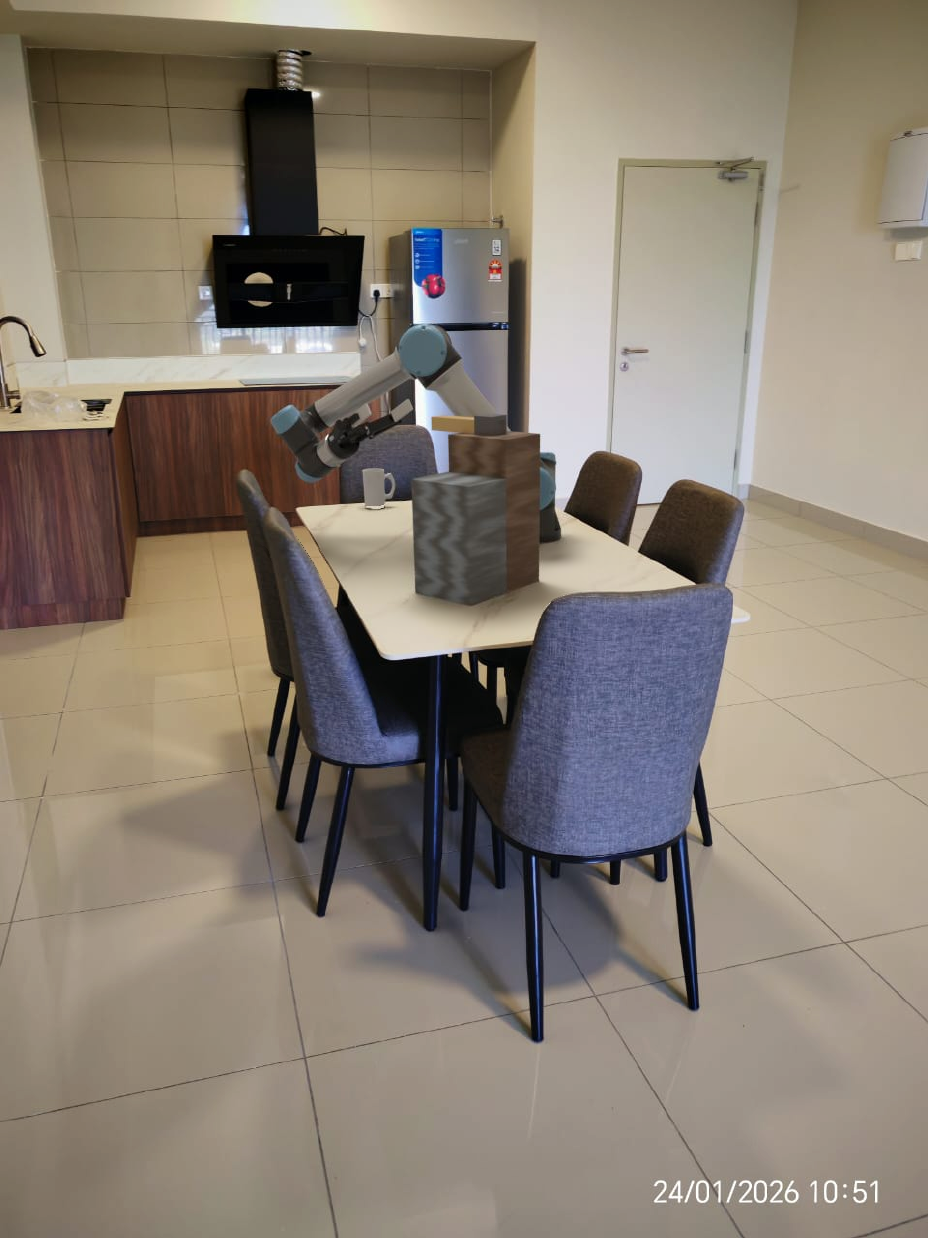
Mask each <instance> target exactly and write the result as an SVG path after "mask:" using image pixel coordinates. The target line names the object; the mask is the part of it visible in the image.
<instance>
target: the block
mask: <svg viewBox="0 0 928 1238" xmlns="http://www.w3.org/2000/svg"><path fill="white" fill-rule="evenodd" d="M507 416H508V415H507V414H502V413H501V414H499V413H497V414H482V415H475V416H474V417H461V416H454V415H446V414H443V415H442V414H441V415H436V416H435V415H434V416H431V431H437V432H447V433H468V434H475V435H487V436H495V435H501V434H507V427H508V425H507V424H508V423H507V421H508V420H507V418H508V417H507Z"/></svg>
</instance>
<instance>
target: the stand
mask: <svg viewBox="0 0 928 1238" xmlns="http://www.w3.org/2000/svg"><path fill="white" fill-rule="evenodd" d="M447 439H448V440H447V441H448V442H447V443H448V445H447V446H448V471H444V472H440V473H435V474H430V475H424V476H420V477H415V478H411V485H410V486H411V506H412V507H411V508H412V534H413V535H412V537H413V539H412V540H413V541H412V542H413V560H414V561H413V564H414V565H413V566H414V568H413V569H414V592H415V594H416V593H417V594H418V595H423V596H424V595H425V596H428V597H432V598H435V599H439V600H441V599H442V600H445V601H448V600H449V602H453V603H457V604H461V605H465V604H466V606H470V607H471V606H472V607H473V606H475V605H477V604H480V603H482V602H486V601H488V600H490V598H491V599H493V597H494V598H496V597H498V595H499V596H501V595H500V594H502V595H504V594H507V593H509V592H508V591H510V592H512V591H511V590H513V591H515V590H517V589H520V588H523V587H526V586H528V585H531V584H534V583H537V582H539V581H540V543H539V526H540V452H541V433H534V432H524V431H523V432H522V431H507V434H501V435H495V436H487V435H475V434H468V433H457V432H455V433H449V434H448V435H447ZM506 592H507V593H506ZM503 593H504V594H503ZM495 596H496V597H495ZM474 604H475V605H474Z"/></svg>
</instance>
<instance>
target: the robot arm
mask: <svg viewBox="0 0 928 1238" xmlns="http://www.w3.org/2000/svg"><path fill="white" fill-rule="evenodd" d="M458 352H459V351H457V350H456V349H455V347H454V346H453V342H452V338H451V337H450V334H449V333H448V332H447V331H446V330H445V329H444V328H443V327H442V326H439V325H437V324H433V323H417V324H415V325H412V326H411V327H410V328H408V329H407V331H406V332H404V334H403V335H402V337H401V339H400V341H399V344H398V345H397V346H395V349H394V352H393V353H391V354H390V355H388V356H387V357H385V358H383V359H382V360H380V361H379V362H377V363H376V364H374V365H372V366H371V367H369V368H367V369H366V370H364V371H363V372H362V373H360V374H358V375H356V376H355V377H353V378H352V379H350V380H348V381H347V382H345V383H344V384H342V385H340V386H339V387H337V388H336V389H334V390H332V391H331V392H329V393H327V394H326V395H324V396H323V397H321V398H319V399H317V400H316V401H315V402H313V403H312V404H310V405H308V406H306V407H305V408H303V409H302V410H300V411H299V410H298V409H297V408H296V406H294V404H289V405H287V406H285V407H283V408H282V409H281V410H279V411H278V412H277V413H275V414H274V415H273V416H272V417H271V419H270V424H271V426H272V428H273V429H274V431H275V433H276V434H277V435H279V438H281V439H282V441H283V442H284V444H285V445H286V447H287V448H288V449H289V450H290V451H291V453H292V454H293V456H294V458H295V459H296V461H295V464H294V468H295V470H296V475H297V476H298V477H299V478H300V480H302V481H304V482H306V483H310V484H311V483H312V484H313V483H317V482H318V481H320V480H322V479H323V478H325V477H326V476H327V475H328V474H330V473H331V472H332V471H334V470H335V469H336V468H340V467H341V464H342V463H344V462H346V461H347V460H348V459H350V458H351V457H352V456H353V455H355V454H357V452H358V451H359V449H360V445H361V442H365V440H366V439H369V440H374V439H375V438H376V437H377V436H379V435H380V434H383V433H385V432H387V431H388V430H389V431H390V429H392V428H395V427H396V426H398V425H401V424H402V423H403V420H402V419H403V418H404V417H405V416H407V415H408V414H409V413H411V411H414V408H413V405H412V403H411V400H410V398H407V399H405V400H404V401H402V402H401V403H400V404H399V405H397V406H396V407H395V408H393V409H391V411H390V413H389V414H385V415H384V416H382V417H380V418H378V419H374V420H373V421H371V422H369V421H366V419H368V418H369V417H371V416H372V415H373V413H372V410H371V408H370V406H369V404H371V403H372V402H373V401H375V400H377V399H378V398H380V397H382V396H383V395H385V394H387V393H388V392H391V390H393V389H396V387H398V386H400V385H402V384H403V383H405V382H406V381H408V380H413V381H416V380H418V382H419V383H420V384H421V385H422V386H423V388H424V389H425V390H426V391H430V392H434V393H436V394H437V395H438V397H439V398H440V400H441V401H442V402H443V403H444V404H445V405H446V406H447V408H448V409H449V411H450V412H451V413H452V415H453V416H461V417H474V416H475V415H482V414H498V413H497V411H496V410H495V409H494V407H493V406H492V404H491V403H490V402H489V401H488V400H487V398H486V397H485V396H484V395H483V393H482V392H481V391H480V389H479V388H478V387H477V385H476V384H475V383H474V382H473V380H472V379H471V378H470V377H469V375H468V374H467V373H466V371H465V370H464V368H463V363H464V362H463V361H464V359H463V357H462V356H461V355H460V353H458ZM364 421H365V422H364ZM331 427H333V428H332V430H331V431H330V432H329V434H327V435H326V436H324V437H323V438H322V439H321V440H320V438H319V437H318V436H319V435H321V434H322V433H323V432H325V431H326V430H328V429H330V428H331ZM507 431H511V429H510V428H509V426H507ZM556 465H557V460H556V454H555V452H550V451H540V526H539V544H545V543H551V542H556V541H558V540H560V539H561V538H562V527H561V525H560V521H559V518H558V515H557V511H556V491H557V486H556V485H557V484H556V483H557V482H556V469H557V468H556Z"/></svg>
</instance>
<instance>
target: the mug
mask: <svg viewBox="0 0 928 1238" xmlns="http://www.w3.org/2000/svg"><path fill="white" fill-rule="evenodd" d="M385 479H389V480H390V482H391V490H390V492H389V493H386V492H385ZM362 480H363V481H362V482H363V483H362V484H363V492H364V493H363V495H364V496H363V497H364V507H365V506H381V505H384V504H385V505H386V500H388V499H389V500H390V499H392V498H393V496H394V493H395V490H396V481H395V479H394V476H393V474H392V472H390V473H389V472H388V473H385V469H383V468H375V467H374V468H365V469H362Z"/></svg>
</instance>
